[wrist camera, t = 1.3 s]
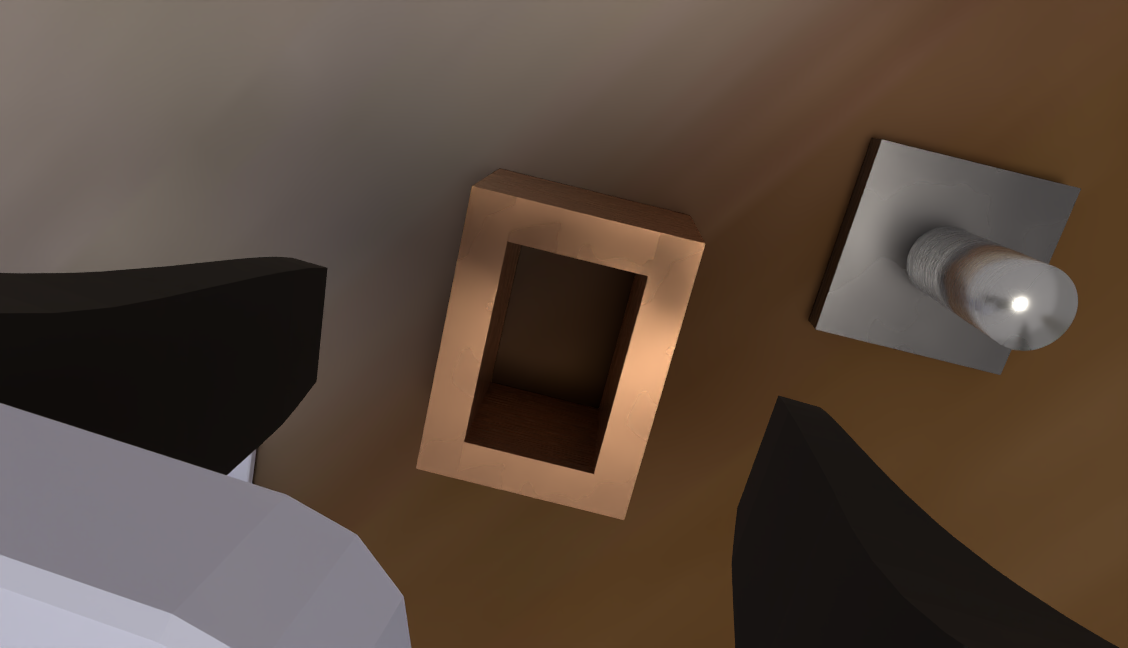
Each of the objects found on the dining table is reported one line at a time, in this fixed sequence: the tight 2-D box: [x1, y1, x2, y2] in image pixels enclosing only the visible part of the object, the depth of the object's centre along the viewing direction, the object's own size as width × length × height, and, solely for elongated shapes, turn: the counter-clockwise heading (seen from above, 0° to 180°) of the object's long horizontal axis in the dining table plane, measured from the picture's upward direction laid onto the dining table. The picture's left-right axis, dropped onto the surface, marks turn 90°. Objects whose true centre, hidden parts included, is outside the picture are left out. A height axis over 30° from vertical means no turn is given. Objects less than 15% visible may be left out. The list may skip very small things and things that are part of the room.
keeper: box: [809, 138, 1081, 375], centre depth 18 cm, size 5×5×5 cm
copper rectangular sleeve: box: [416, 169, 705, 520], centre depth 20 cm, size 7×5×4 cm
